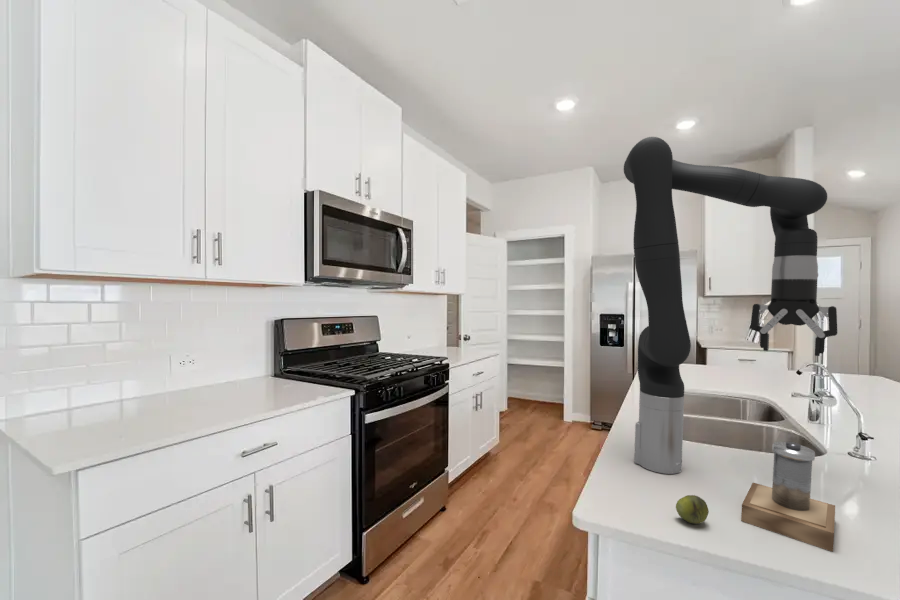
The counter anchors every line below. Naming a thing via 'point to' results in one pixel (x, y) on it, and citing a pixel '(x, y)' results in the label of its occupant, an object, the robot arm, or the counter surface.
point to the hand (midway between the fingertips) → (790, 353)
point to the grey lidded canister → (792, 475)
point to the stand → (790, 518)
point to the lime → (692, 509)
